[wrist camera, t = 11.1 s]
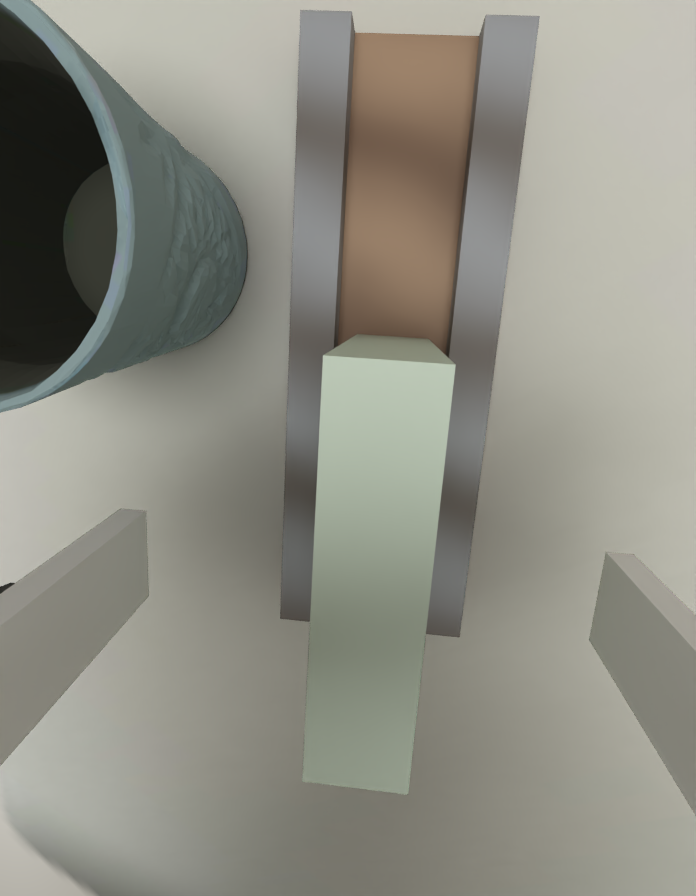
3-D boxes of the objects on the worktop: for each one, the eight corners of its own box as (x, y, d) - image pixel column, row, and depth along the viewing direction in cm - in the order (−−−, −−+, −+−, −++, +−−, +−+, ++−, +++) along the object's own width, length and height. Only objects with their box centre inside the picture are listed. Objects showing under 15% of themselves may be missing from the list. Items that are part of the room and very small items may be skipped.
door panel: (403, 594, 26) (407, 795, 15) (334, 587, 26) (291, 780, 15) (428, 338, 23) (455, 364, 12) (350, 333, 23) (309, 354, 12)
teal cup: (292, 330, 24) (195, 350, 13) (93, 394, 26) (-156, 464, 14) (213, 87, 22) (8, -159, 10) (1, 173, 24) (-381, 41, 12)
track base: (453, 607, 27) (459, 637, 24) (290, 591, 27) (280, 618, 25) (523, 50, 21) (539, 16, 18) (311, 43, 21) (300, 10, 19)
